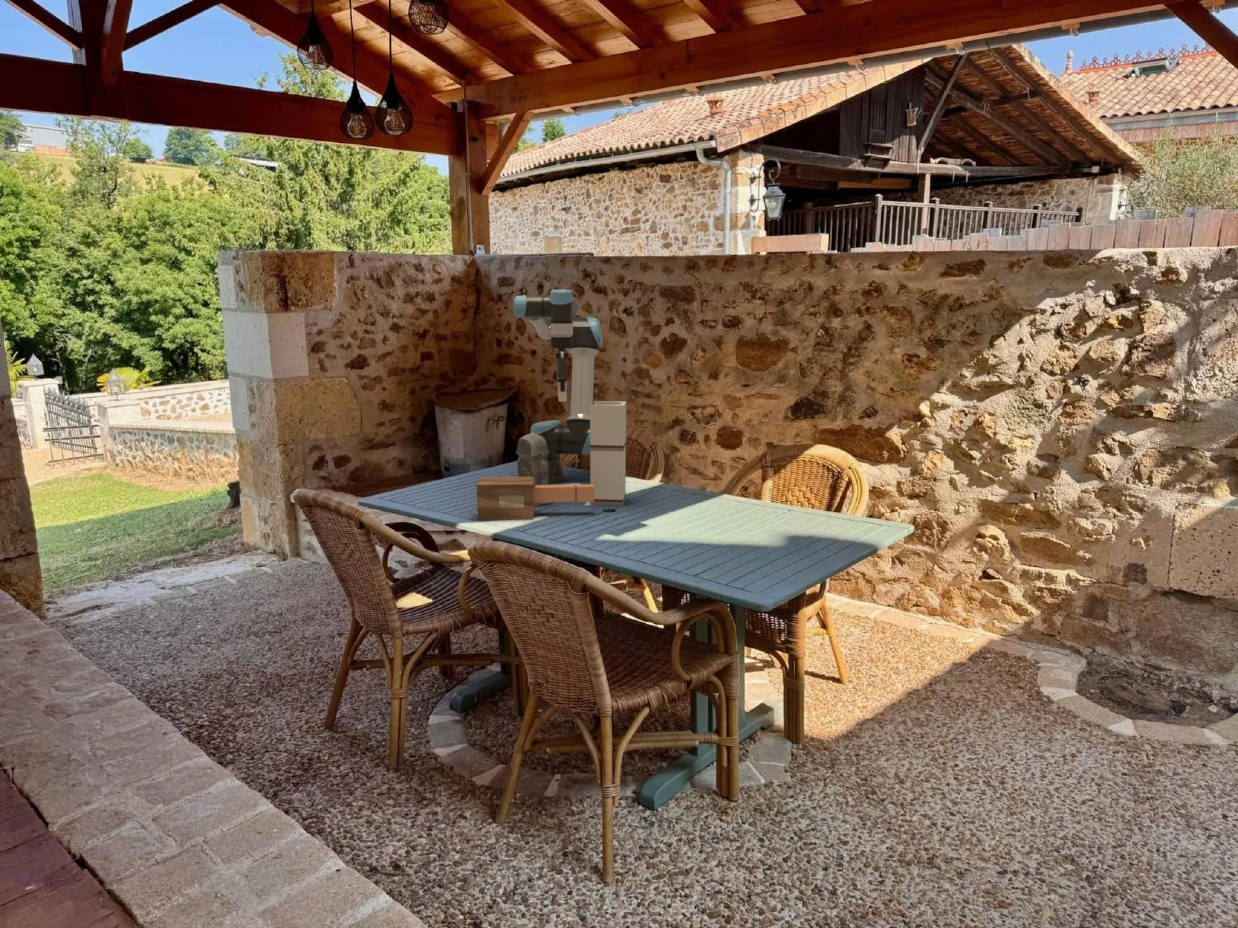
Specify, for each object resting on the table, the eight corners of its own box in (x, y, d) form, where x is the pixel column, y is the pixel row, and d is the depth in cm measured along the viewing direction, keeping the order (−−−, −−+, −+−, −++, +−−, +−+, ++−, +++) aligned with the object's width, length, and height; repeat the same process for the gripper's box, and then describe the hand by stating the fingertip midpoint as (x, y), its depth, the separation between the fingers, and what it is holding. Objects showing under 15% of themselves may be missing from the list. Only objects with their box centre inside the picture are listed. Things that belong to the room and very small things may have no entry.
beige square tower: (625, 498, 297) (626, 401, 290) (622, 505, 286) (623, 405, 279) (594, 497, 298) (594, 401, 291) (590, 504, 287) (590, 404, 280)
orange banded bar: (518, 499, 275) (518, 485, 274) (593, 498, 277) (593, 484, 276) (518, 502, 271) (517, 487, 270) (594, 501, 273) (594, 486, 272)
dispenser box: (480, 510, 278) (479, 477, 276) (535, 509, 280) (535, 476, 278) (477, 520, 266) (476, 485, 264) (535, 519, 268) (534, 484, 266)
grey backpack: (535, 507, 282) (534, 436, 277) (511, 500, 293) (510, 431, 288) (557, 503, 289) (557, 433, 284) (533, 496, 299) (532, 428, 294)
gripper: (550, 334, 290) (551, 394, 294) (550, 338, 266) (551, 403, 270) (571, 334, 291) (572, 394, 295) (573, 338, 266) (574, 403, 270)
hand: (562, 399), depth 282 cm, fingers open, 13 cm apart
